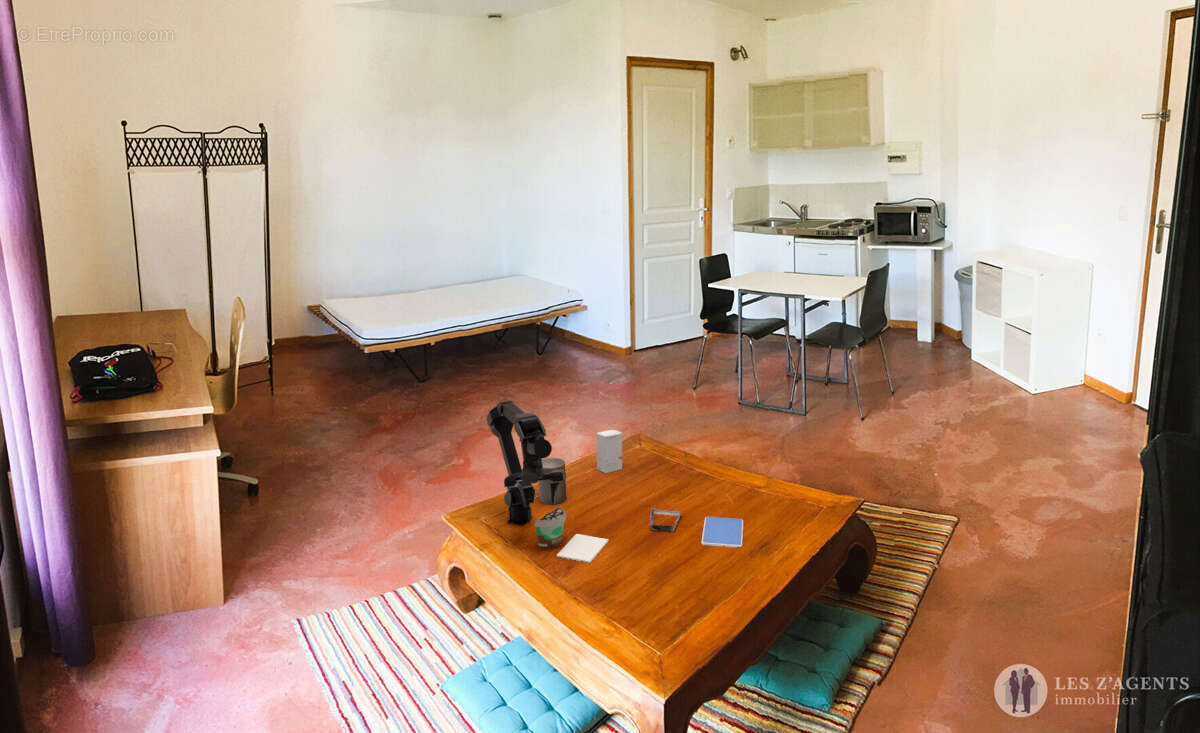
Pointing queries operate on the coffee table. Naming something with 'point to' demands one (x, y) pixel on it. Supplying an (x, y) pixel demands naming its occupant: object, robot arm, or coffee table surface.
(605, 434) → the skincare box
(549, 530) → the food container
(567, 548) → the white flat rectangular board
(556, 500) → the pillar candle
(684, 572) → the coffee table surface
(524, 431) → the robot arm
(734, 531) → the blue square panel
